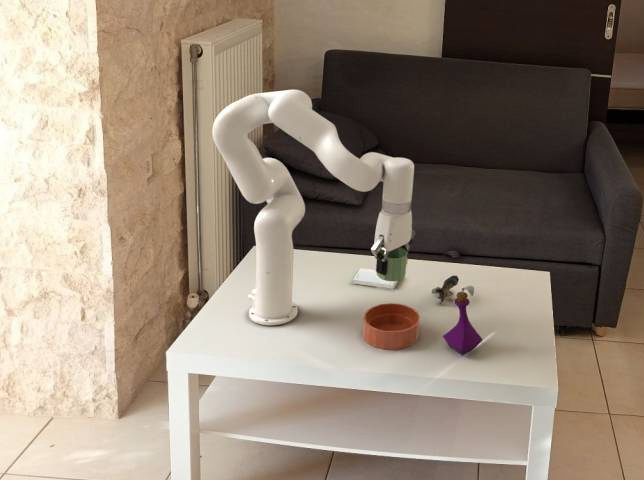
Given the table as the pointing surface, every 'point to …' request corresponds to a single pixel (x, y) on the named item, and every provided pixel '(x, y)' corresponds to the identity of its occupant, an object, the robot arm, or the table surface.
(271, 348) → the table surface
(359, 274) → the hard drive
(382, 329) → the terracotta bowl
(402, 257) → the green faceted cup
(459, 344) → the perfume bottle
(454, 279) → the eagle figurine
